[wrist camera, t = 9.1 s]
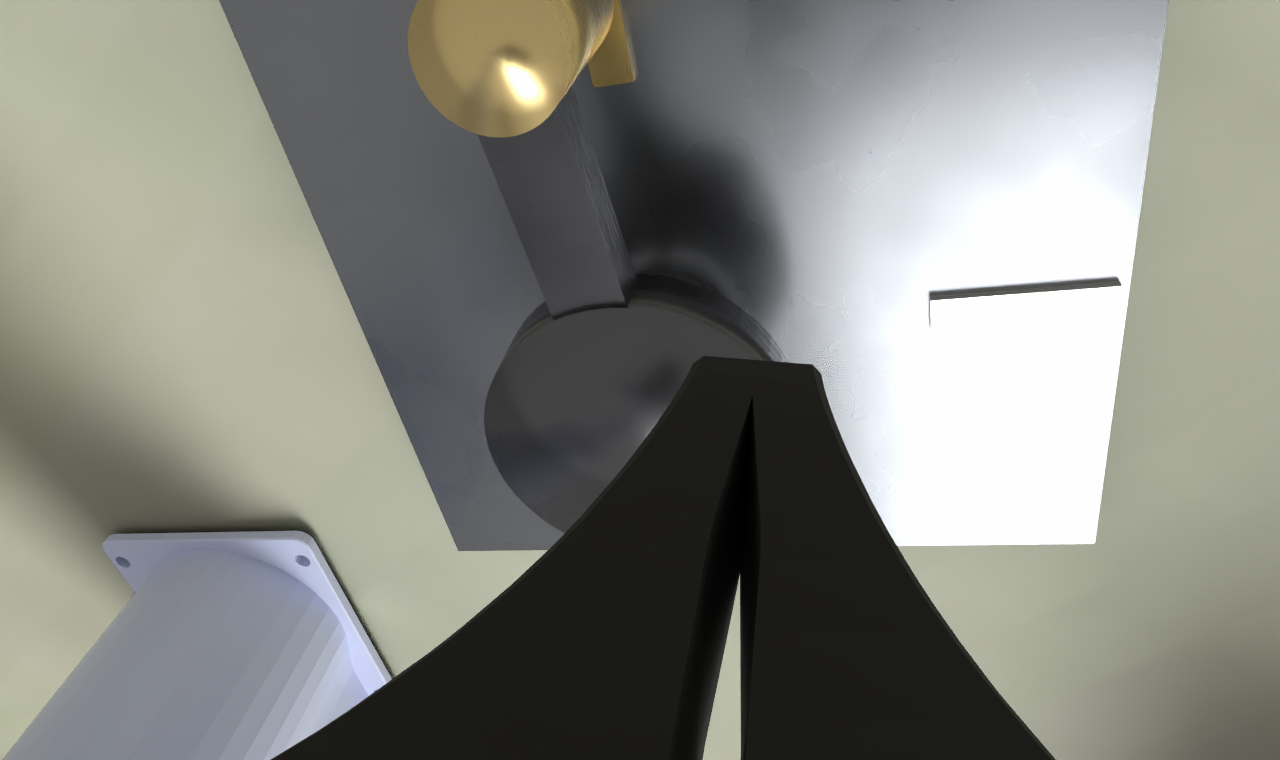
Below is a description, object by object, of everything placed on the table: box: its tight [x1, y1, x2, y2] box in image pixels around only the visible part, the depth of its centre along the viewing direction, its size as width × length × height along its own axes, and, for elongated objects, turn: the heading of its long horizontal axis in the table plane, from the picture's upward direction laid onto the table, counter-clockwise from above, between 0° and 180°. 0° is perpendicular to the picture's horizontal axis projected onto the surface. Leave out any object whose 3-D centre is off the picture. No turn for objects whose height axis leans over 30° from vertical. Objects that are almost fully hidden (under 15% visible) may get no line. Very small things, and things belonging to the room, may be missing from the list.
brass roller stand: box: [408, 0, 787, 533], centre depth 17 cm, size 12×6×4 cm, turn 17°
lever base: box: [219, 0, 1169, 551], centre depth 19 cm, size 17×17×4 cm
